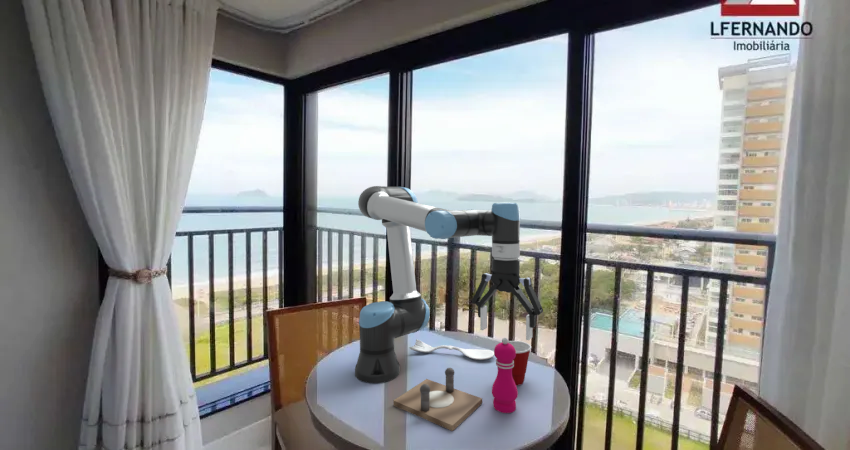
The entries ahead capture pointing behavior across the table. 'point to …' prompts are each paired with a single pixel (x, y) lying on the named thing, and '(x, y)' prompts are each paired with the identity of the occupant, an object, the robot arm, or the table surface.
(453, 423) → the holder
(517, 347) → the plastic cup
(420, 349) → the spoon
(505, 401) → the pepper mill
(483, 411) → the table surface
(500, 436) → the table surface
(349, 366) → the table surface
